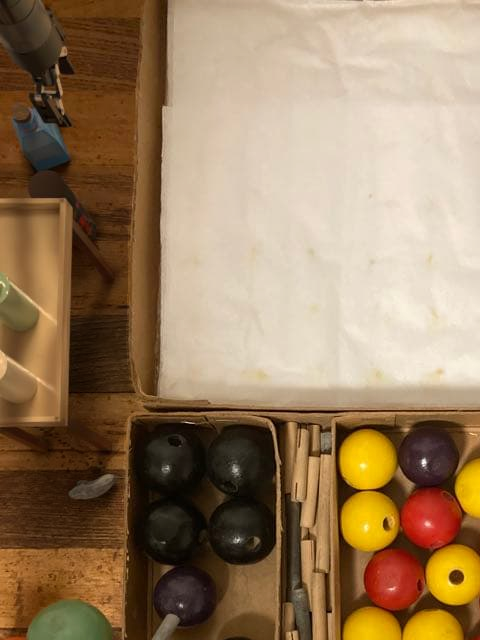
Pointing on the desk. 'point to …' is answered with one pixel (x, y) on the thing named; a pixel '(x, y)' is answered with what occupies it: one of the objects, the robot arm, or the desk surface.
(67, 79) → the desk surface
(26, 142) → the perfume bottle
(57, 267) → the tray stand
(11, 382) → the cream bottle
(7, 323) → the sage bottle
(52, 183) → the deodorant
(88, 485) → the fossil
